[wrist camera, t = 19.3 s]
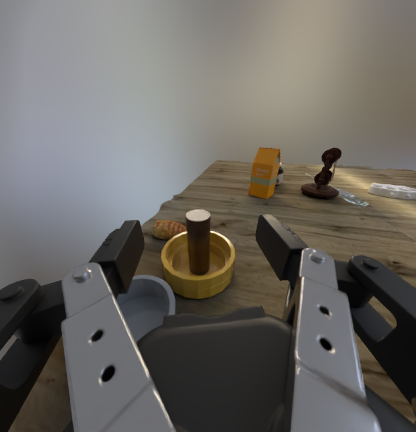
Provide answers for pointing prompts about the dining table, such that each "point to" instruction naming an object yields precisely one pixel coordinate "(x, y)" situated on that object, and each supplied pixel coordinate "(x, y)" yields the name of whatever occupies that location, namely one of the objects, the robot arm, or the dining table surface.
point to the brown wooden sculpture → (324, 176)
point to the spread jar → (279, 175)
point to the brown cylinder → (198, 241)
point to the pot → (146, 304)
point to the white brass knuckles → (392, 191)
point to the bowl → (198, 284)
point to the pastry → (167, 229)
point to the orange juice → (264, 172)
